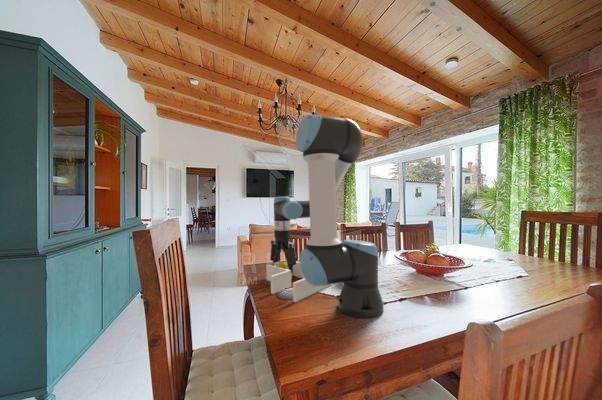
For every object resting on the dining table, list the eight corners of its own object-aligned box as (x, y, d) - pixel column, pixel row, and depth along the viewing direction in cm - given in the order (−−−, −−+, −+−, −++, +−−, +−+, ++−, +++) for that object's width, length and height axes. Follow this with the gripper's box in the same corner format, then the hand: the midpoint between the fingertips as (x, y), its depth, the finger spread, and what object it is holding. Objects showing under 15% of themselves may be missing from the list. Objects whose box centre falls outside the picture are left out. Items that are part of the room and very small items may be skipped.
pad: (302, 294, 100) (302, 293, 100) (288, 301, 94) (288, 300, 94) (288, 289, 106) (288, 288, 106) (273, 295, 100) (273, 294, 100)
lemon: (290, 276, 122) (290, 260, 122) (286, 280, 117) (286, 263, 117) (280, 275, 124) (279, 259, 124) (275, 279, 119) (275, 262, 119)
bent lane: (331, 285, 110) (331, 269, 110) (295, 302, 93) (295, 283, 93) (287, 273, 128) (286, 259, 128) (250, 285, 111) (250, 269, 111)
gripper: (261, 228, 124) (262, 275, 124) (292, 232, 110) (293, 284, 111) (273, 226, 129) (274, 271, 130) (304, 230, 116) (304, 280, 117)
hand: (283, 277), depth 121 cm, fingers open, 8 cm apart
